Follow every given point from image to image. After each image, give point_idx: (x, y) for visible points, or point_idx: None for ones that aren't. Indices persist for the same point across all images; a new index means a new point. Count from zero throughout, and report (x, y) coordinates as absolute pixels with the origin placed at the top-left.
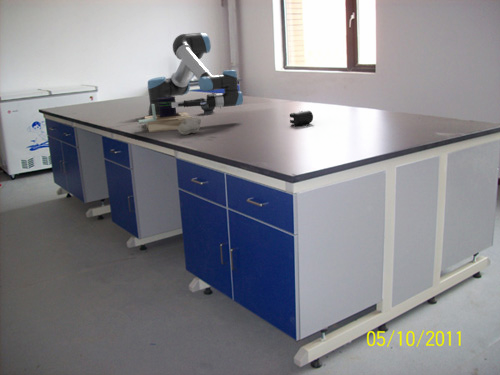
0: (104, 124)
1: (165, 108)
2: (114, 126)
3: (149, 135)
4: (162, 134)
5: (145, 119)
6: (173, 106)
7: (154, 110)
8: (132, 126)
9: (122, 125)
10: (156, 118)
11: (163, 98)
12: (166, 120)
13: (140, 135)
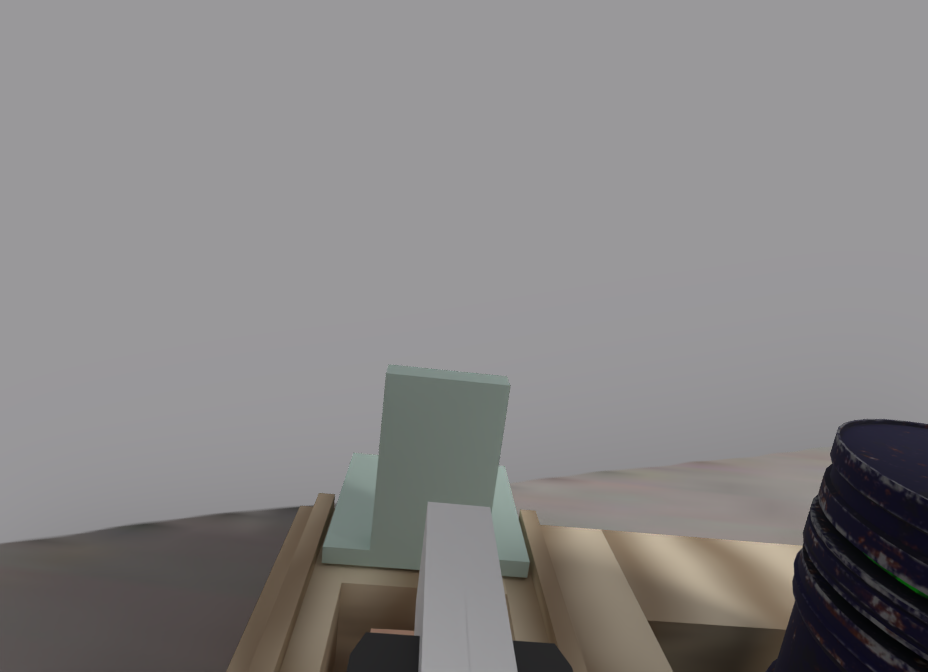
0: (828, 461)
1: (797, 610)
2: (742, 478)
3: (131, 563)
4: (10, 661)
5: (494, 497)
6: (418, 599)
7: (381, 437)
8: (718, 538)
9: (779, 506)
10: (538, 578)
11: (910, 456)
12: (259, 645)
13: (221, 521)
